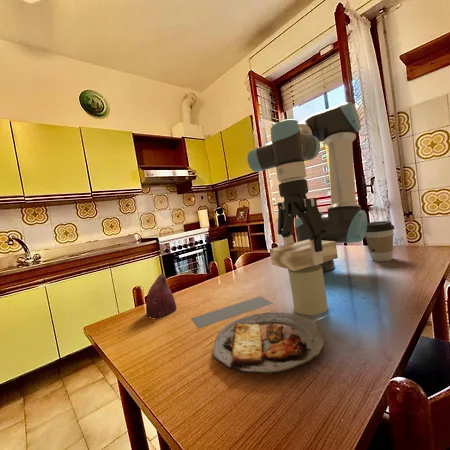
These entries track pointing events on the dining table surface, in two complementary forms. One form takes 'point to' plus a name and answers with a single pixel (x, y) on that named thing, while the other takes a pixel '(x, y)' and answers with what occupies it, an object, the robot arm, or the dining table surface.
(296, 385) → the dining table surface
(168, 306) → the vegetable
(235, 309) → the mat
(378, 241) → the coffee cup
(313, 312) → the can
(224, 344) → the food plate
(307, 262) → the beige wavy block
